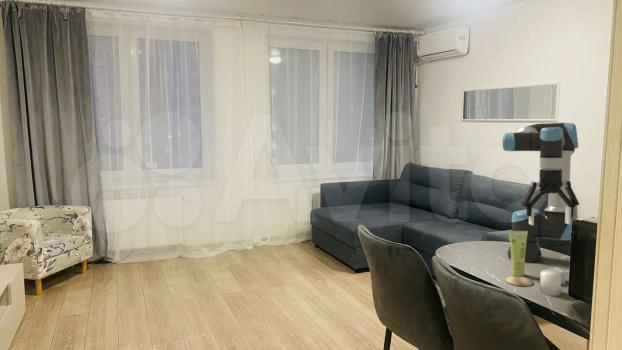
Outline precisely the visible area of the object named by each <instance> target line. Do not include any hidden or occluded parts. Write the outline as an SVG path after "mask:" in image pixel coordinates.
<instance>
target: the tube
mask: <svg viewBox="0 0 622 350" xmlns="http://www.w3.org/2000/svg"><path fill="white" fill-rule="evenodd" d="M527 234H528V231H512V230H508V235H509V247H510V246H511V259H510V261H511V263H510V264H511V276H520V277H524V276H525V269H526V268H525V267H526V266H525V264H526V262H525V251H526V241H527Z"/></svg>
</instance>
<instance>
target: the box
mask: <svg viewBox="0 0 622 350" xmlns="http://www.w3.org/2000/svg"><path fill="white" fill-rule="evenodd" d="M542 270H554V271H558V272H560V273H561V285H565V284H566V271H563V270H562V269H561V268H559V267H543V268H542Z"/></svg>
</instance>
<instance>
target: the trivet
mask: <svg viewBox="0 0 622 350" xmlns="http://www.w3.org/2000/svg"><path fill="white" fill-rule="evenodd" d="M505 283H507V284H509V285H512V286H515V287H530V286H533V280H532V279H530V278H528V277H524V276H514V275H511V276H508V277H505Z"/></svg>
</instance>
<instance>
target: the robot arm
mask: <svg viewBox="0 0 622 350" xmlns="http://www.w3.org/2000/svg"><path fill="white" fill-rule="evenodd" d="M577 130H578V129H577V125H576V124H575V123H573V122H552V123H551V122H550V123H535V124H531V125H528V126H524V127H522V128H520V129H519V130H518V131H517V132H506V133H503V136H502V141H501V142H502V149H503V150H504V151H505V152H539V154H540V155H539V168H540V169H539V182H537V181H534V180H533V181H530V185H529V189H528V190H527V192H526V195H525V196H524V198H523V200H522V202H521V206H523V207H525V209H520V210H515V211H514V212H513V213H512V216H511V231H528V234H527V241H526V251H525V263H538V262H540V261H542V259H543V254H542V250H541V248H540V244H539V239H546V240H555V241H556V240H557V241H570V240H572V239H571V232H572V222H573V220H575V221H576V219H577V216H576V215H575V214H574V208H575V207H577V206H579V205H580V202H579V200H578V198H577V196H576V194H575V193H574V190H573V188H572V183H571V162H572V161H571V156H573V154H575V152H576V150H575V149H579V141H578V131H577ZM538 187H539V189H537V188H538ZM536 189H537V191H536ZM535 191H536V193H535ZM534 193H535V194H534ZM545 194H547V195H548V197H547V198H548V199H547V207H546V208H544V210H543V213H540V211H539V209H535V208H534V207H533V206H534V205H536V203H537V202H538V201H539V200H540V199H541V198H542V197H543V195H545ZM507 258H508V259H510V260H511V246H510V245H509V247H508V249H507Z"/></svg>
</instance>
